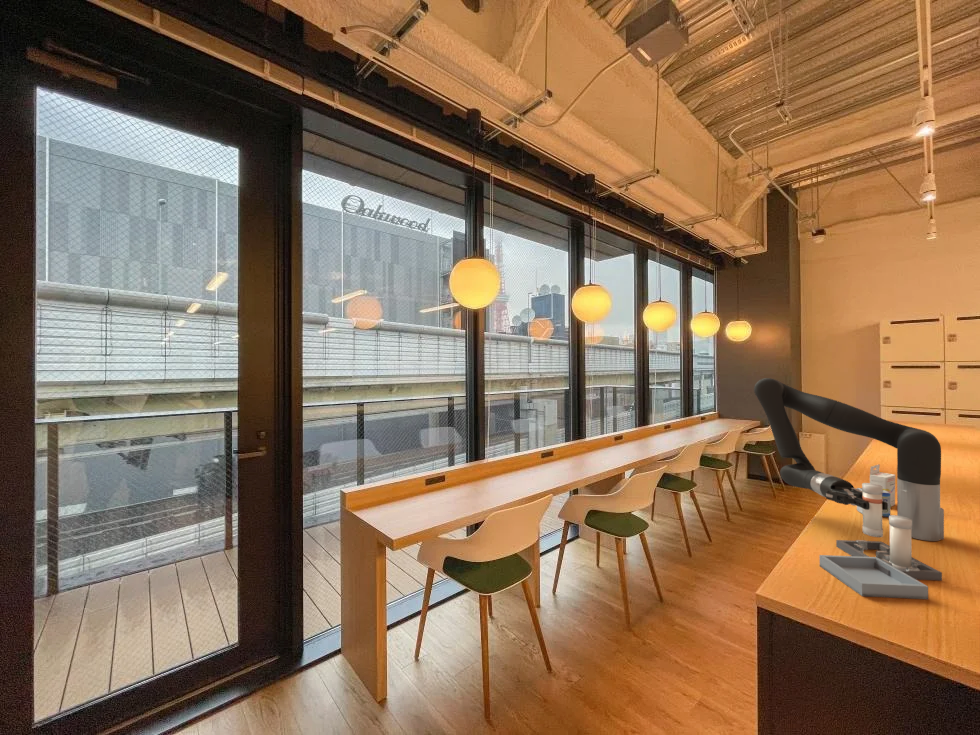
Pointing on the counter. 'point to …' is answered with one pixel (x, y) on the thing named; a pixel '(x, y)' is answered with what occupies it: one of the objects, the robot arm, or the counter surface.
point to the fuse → (900, 542)
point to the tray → (873, 577)
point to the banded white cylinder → (872, 509)
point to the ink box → (884, 481)
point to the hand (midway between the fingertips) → (876, 506)
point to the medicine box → (884, 498)
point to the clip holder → (888, 558)
